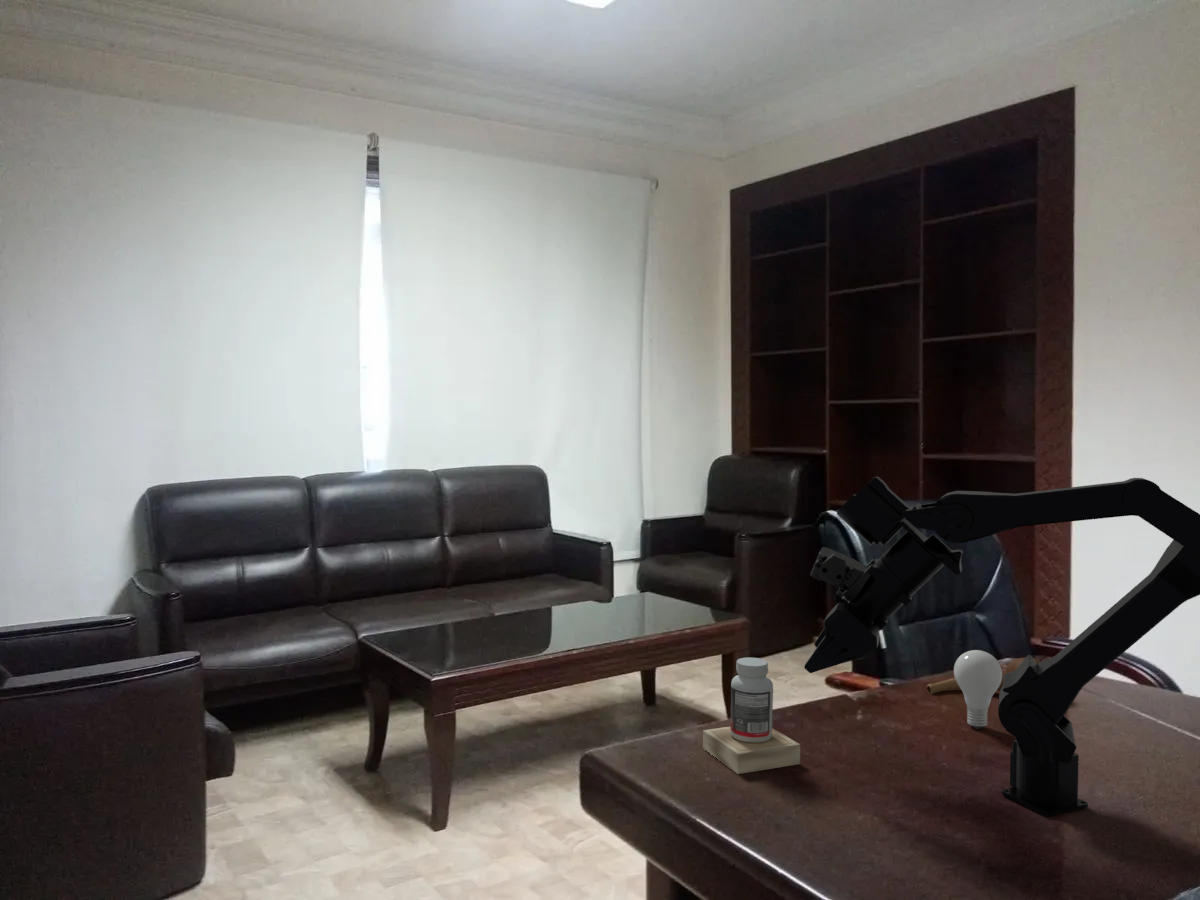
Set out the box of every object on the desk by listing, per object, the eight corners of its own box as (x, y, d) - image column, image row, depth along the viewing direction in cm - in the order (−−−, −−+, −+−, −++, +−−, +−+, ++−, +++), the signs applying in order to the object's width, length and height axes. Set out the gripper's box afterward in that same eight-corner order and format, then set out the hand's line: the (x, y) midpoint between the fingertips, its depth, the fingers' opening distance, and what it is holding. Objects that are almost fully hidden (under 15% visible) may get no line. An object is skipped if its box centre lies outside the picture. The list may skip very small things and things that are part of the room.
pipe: (921, 690, 143) (922, 653, 143) (1033, 688, 145) (1034, 651, 145) (943, 704, 136) (943, 665, 136) (1061, 702, 137) (1061, 663, 137)
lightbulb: (1009, 735, 121) (1010, 656, 121) (963, 735, 121) (964, 656, 121) (990, 720, 128) (991, 645, 127) (946, 719, 128) (947, 645, 128)
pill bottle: (737, 726, 117) (738, 653, 116) (777, 733, 114) (778, 659, 114) (724, 739, 112) (725, 663, 112) (765, 747, 110) (767, 669, 109)
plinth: (799, 764, 111) (800, 744, 111) (737, 774, 107) (738, 753, 107) (761, 740, 119) (761, 721, 119) (702, 749, 116) (703, 729, 116)
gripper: (855, 514, 116) (776, 595, 121) (840, 541, 99) (749, 633, 104) (921, 573, 114) (838, 653, 119) (917, 611, 97) (821, 702, 102)
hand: (812, 658), depth 111 cm, fingers open, 9 cm apart
